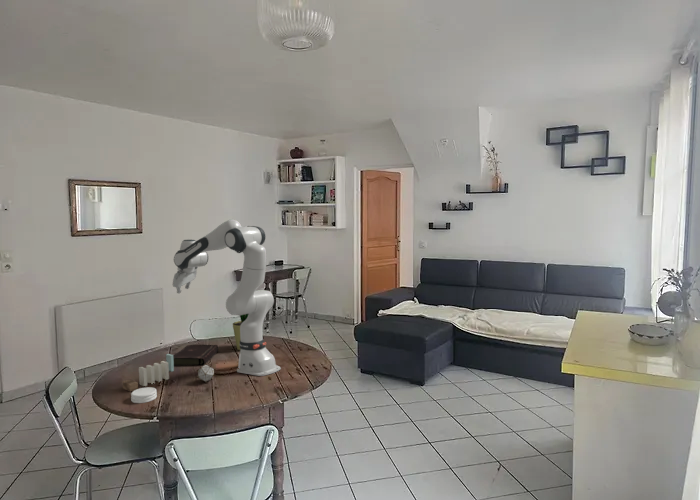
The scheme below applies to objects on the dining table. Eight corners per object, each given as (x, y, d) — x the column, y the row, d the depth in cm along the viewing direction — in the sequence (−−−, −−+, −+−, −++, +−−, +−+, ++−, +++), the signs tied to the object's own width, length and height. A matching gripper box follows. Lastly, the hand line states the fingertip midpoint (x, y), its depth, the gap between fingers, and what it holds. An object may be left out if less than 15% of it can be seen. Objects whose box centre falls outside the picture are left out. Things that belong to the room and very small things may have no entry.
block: (138, 389, 207) (137, 382, 207) (130, 391, 205) (130, 384, 204) (130, 386, 212) (130, 379, 211) (122, 388, 209) (122, 381, 209)
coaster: (160, 394, 202) (160, 386, 201) (151, 403, 192) (151, 395, 192) (137, 395, 201) (136, 387, 201) (127, 404, 191) (126, 395, 191)
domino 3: (162, 381, 218) (161, 364, 217) (159, 381, 217) (158, 365, 216) (157, 379, 220) (156, 362, 220) (154, 380, 219) (153, 363, 219)
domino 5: (173, 370, 232) (173, 355, 232) (171, 371, 231) (170, 355, 231) (169, 369, 235) (168, 353, 235) (166, 369, 234) (165, 354, 233)
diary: (218, 352, 265) (218, 344, 265) (204, 367, 240) (204, 357, 240) (186, 352, 265) (185, 344, 265) (169, 366, 240) (168, 357, 240)
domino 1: (147, 385, 212) (146, 368, 212) (144, 386, 211) (143, 369, 210) (142, 383, 215) (141, 366, 214) (139, 384, 214) (138, 367, 213)
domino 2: (154, 383, 215) (154, 366, 214) (151, 384, 214) (151, 367, 213) (149, 381, 218) (149, 364, 217) (147, 382, 216) (146, 365, 216)
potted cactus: (265, 346, 274) (264, 296, 272) (247, 352, 261) (245, 300, 259) (246, 342, 282) (245, 294, 280) (227, 349, 269) (225, 298, 267)
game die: (203, 390, 215) (190, 377, 210) (204, 378, 222) (191, 365, 217) (220, 380, 215) (207, 367, 210) (220, 369, 222) (208, 355, 217)
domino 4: (169, 378, 221) (168, 362, 220) (166, 379, 219) (165, 363, 219) (164, 377, 223) (163, 360, 223) (161, 377, 222) (160, 361, 222)
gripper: (182, 272, 247) (179, 297, 250) (199, 264, 267) (196, 287, 270) (171, 270, 248) (168, 294, 251) (189, 262, 268) (186, 284, 270)
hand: (183, 290), depth 260 cm, fingers open, 8 cm apart
